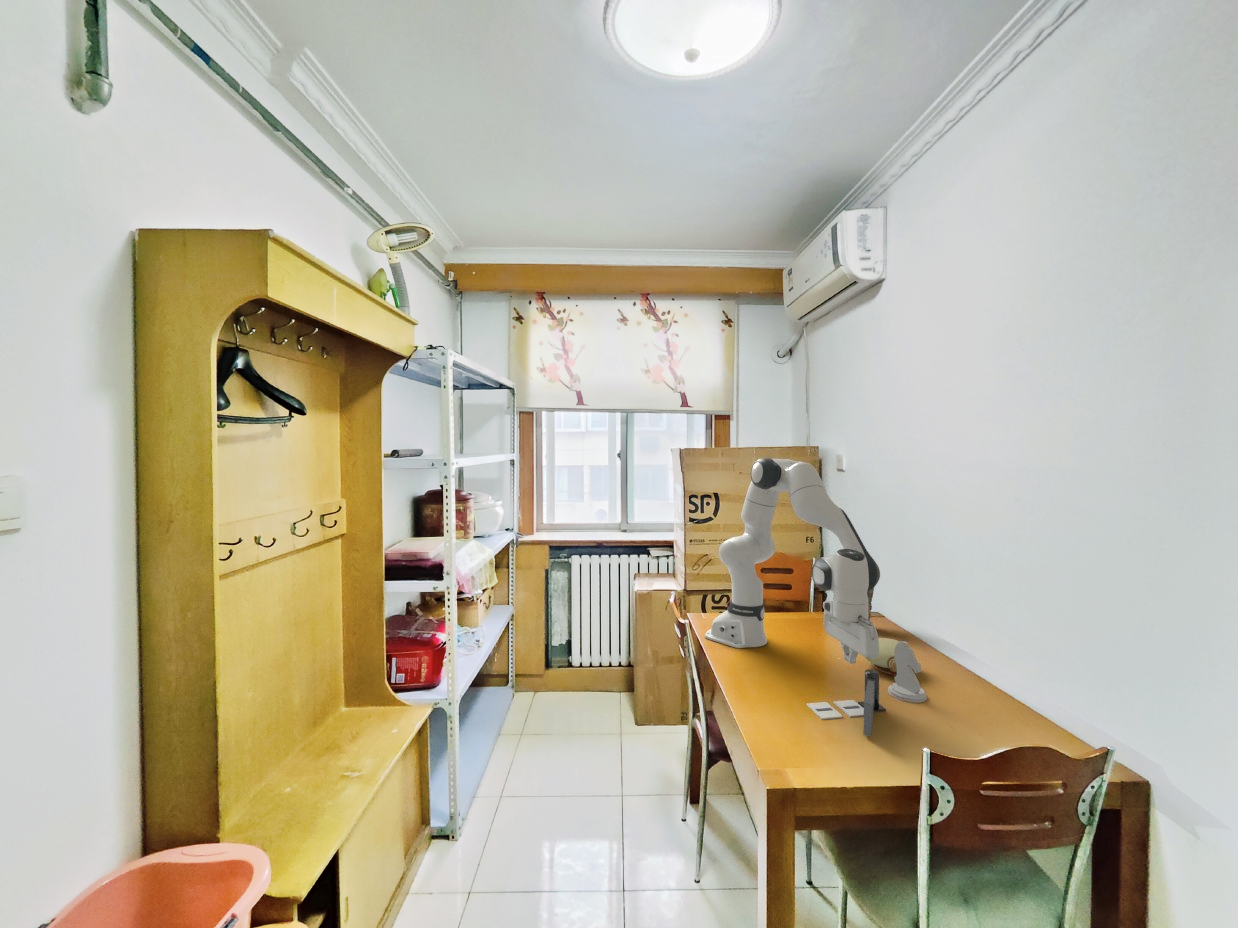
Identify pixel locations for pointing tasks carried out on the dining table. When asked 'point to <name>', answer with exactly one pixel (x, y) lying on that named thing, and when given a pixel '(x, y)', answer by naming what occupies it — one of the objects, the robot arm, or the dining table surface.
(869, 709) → the grey panel stand
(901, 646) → the chess piece
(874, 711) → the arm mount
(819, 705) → the label plate
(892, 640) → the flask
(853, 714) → the label plate
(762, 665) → the dining table surface
